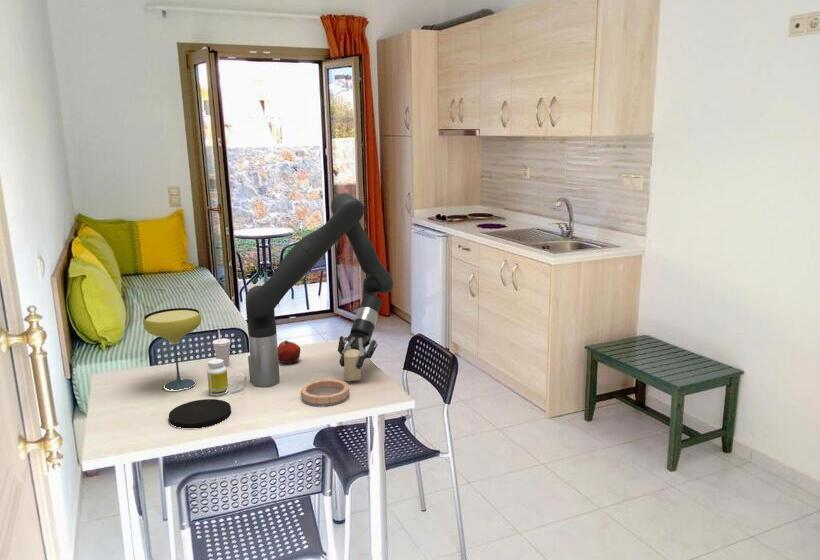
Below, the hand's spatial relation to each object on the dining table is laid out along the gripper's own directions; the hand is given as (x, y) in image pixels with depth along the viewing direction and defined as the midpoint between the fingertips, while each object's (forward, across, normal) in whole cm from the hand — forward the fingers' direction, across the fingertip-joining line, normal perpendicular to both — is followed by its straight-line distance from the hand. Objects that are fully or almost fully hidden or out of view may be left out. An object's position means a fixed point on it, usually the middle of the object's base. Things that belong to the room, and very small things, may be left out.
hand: (349, 366), depth 215 cm
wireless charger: (+32, -30, -23) cm, 50 cm away
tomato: (-4, -32, +13) cm, 35 cm away
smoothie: (+5, -52, +4) cm, 53 cm away
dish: (+13, -2, -5) cm, 15 cm away
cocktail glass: (+20, -54, -11) cm, 59 cm away
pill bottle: (+20, -37, -11) cm, 44 cm away
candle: (+2, 0, +5) cm, 5 cm away
